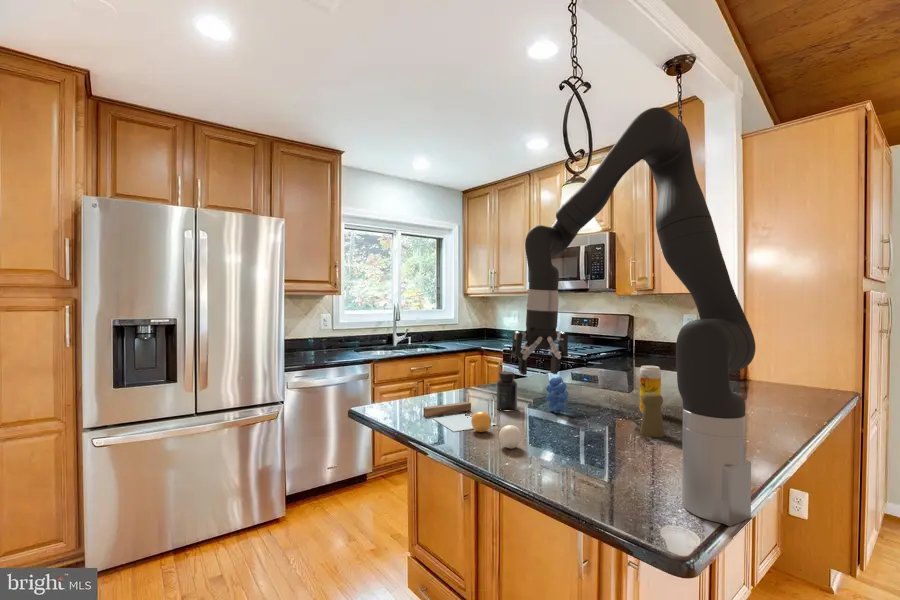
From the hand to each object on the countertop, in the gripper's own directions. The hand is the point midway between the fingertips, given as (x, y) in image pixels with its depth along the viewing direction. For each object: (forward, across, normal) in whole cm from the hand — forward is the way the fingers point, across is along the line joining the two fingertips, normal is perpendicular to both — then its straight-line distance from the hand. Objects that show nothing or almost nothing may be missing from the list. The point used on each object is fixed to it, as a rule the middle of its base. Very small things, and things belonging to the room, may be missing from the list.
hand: (538, 373), depth 104 cm
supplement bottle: (+20, +8, +34) cm, 41 cm away
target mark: (+20, -10, +24) cm, 33 cm away
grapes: (+19, +22, +24) cm, 38 cm away
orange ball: (+16, -9, +15) cm, 24 cm away
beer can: (+18, +50, +16) cm, 55 cm away
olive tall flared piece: (+17, +35, -1) cm, 39 cm away
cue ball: (+16, -6, +1) cm, 17 cm away
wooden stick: (+20, -12, +35) cm, 42 cm away
